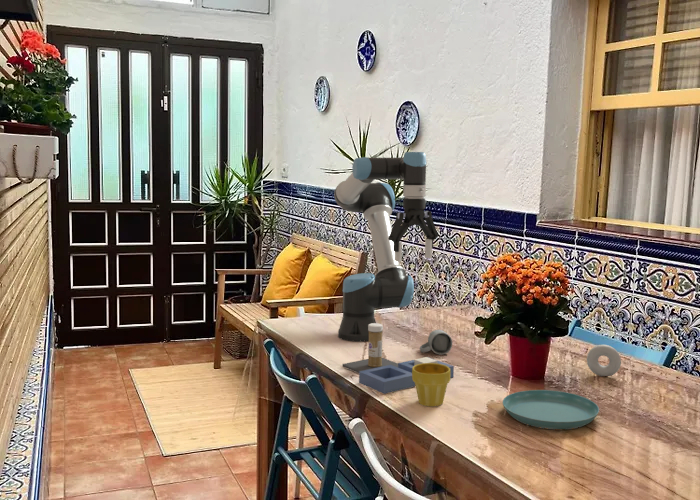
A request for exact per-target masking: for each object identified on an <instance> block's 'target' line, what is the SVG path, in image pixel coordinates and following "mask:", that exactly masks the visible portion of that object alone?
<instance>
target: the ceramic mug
mask: <svg viewBox="0 0 700 500" xmlns="http://www.w3.org/2000/svg"><path fill="white" fill-rule="evenodd" d="M427 338H428V339H427V341H426V342H425V343H424V344H421V345H420V346H419V350H420V352H421V353H428V352H430V351H432V352H433V353H434V354H436V355H439V356H443V355H446V354H448V353H449V352H450V351H451V350H452V348H453V339H452V336H451V335H449V333H447V332H446V331H444V330H442V329H435V330H433V331H431V332H430V333H429V335H428V337H427Z"/></svg>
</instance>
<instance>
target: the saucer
mask: <svg viewBox="0 0 700 500" xmlns="http://www.w3.org/2000/svg"><path fill="white" fill-rule="evenodd" d="M502 405H503V408H504V410H505V411H506V412H507V413H508V415H510V416H511V417H512V418H513V419H515V420H516V421H518V422H520V423H522V424H525V425H527V424H528V425H527V426H530V425H531V426H530V427H534V426H535V428H539V427H541V428H540V429H544V428H548V429H547V430H555V429H565V430H573V429H572V428H574V429H579V428H582V427H583V426H587V425H588V424H590V423H591V422H593V421H594V419H595V418H596V417H597V416H598V414H599V413H600V407H599V406H598V404H597V403H596V402H594V401H592V400H591V399H589V398H587V397H584V396H581V395H579V394H575V393H571V392H565V391H560V390H548V389H531V390H523V391H522V390H521V391H516V392H513V393H510V394H508V395H506V396H505V397H504V398H503V400H502ZM578 427H579V428H578Z"/></svg>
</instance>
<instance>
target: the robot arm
mask: <svg viewBox="0 0 700 500" xmlns="http://www.w3.org/2000/svg"><path fill="white" fill-rule="evenodd" d="M351 168H352V172H351V173H350V174H349V175H348V177H347V178H346V179H345V180H343V181H340V182H339V183H338V184H337V186H336V187H335V188H334V192H333V195H334V199H335V202H336V205H338V206H339V207H340V208H341V209H342V210H344V211H347V212H351V213H362V214H363V215H362V216H363V218H364V219H365V220H366V221H368V225H369V230H370V236H371V240H372V246H373V251H374V256H375V261H376V262H375V263H376V266H377V272H376V273H375V274H374V273H371V272H366V273H364V272H362V273H356V274H351V275H348V276H347V277H345V278H344V279H343V283H342V318H341V321H340V324H339V327H338V330H337V332H338V333H337V335H338V336H337V337H338V338H339V339H340V340H343V341H348V342H357V343H358V342H369V330H368V325H369V324H371V323H377V321H376V318H375V310H376V309H386V308H387V309H391V308H398V309H399V308H404V307H408V306H409V305H410V304H411V303H412V301H413V297H414V292H415V283H414V278H413V277H412V275H409V274H408V275H407V272H406V269H405V268H403V267H401V264H400V262H401V263H402V262H403V261H402V260H403V259H402V255H403V254H402V251H403V249H402V248H403V243H402V241H401V240H402V239H403V237H404V235H405V234H406V232H407V230H408V229H409V228H410V227H411V226H415V225H416V226H419V227H420V229H421V231H422V232H423V234H424V235H425V237H426V238H425V239H424V240H425V243H424V246H425V247H424V258H425V259H433V249H434V240H436V239H437V238H438V237H439V234H438V230H437V228H436V224H435V223H434V220H433V216H432V215H433V214H432V211H431V210H430V211H429V210H425V209H426V198H424V197H426V190H427V189H426V186H427V185H426V183H427V181H426V180H427V155H426V153H425V152H424V151H405V152H404V154H403V157H402V156H401V157H400V156H399V157H366V156H363V157H356V158H354V160H353V163H352V167H351ZM375 180H403V184H402V185H403V187H402V190H403V192H402V193H403V195H402V196H403V197H404V198H403V200H402V201H403V202H402V203H403V204H402V206H403V207H402V208H403V210H404V211H403V212H396V215H395V220H394V223H393V225H392V220H391V218H390V217H391V216H392V213H393V210H394V209H395V207H396V200H395V199H396V197H395V192H394V189H393V188H392V186H391V185H390V184H389V183H386V182H374V181H375Z"/></svg>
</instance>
